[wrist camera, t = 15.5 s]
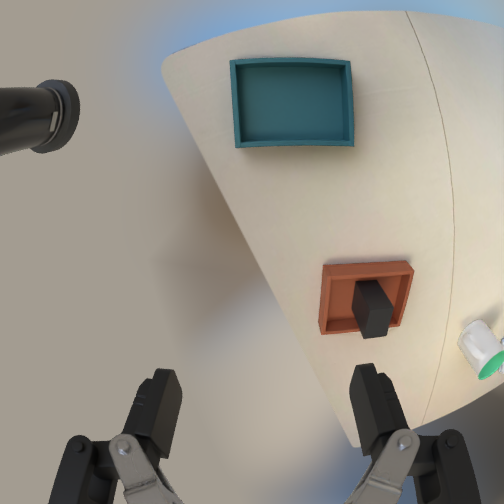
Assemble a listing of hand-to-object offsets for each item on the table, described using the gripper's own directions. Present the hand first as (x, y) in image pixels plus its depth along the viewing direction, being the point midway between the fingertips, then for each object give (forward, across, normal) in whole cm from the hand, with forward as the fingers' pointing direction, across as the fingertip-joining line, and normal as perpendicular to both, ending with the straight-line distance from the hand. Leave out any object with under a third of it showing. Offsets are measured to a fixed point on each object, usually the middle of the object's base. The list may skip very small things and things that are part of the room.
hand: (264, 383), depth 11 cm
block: (+26, -15, +14) cm, 32 cm away
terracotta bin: (+26, -14, +14) cm, 33 cm away
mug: (+26, -43, +27) cm, 57 cm away
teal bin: (+26, -4, -13) cm, 29 cm away
